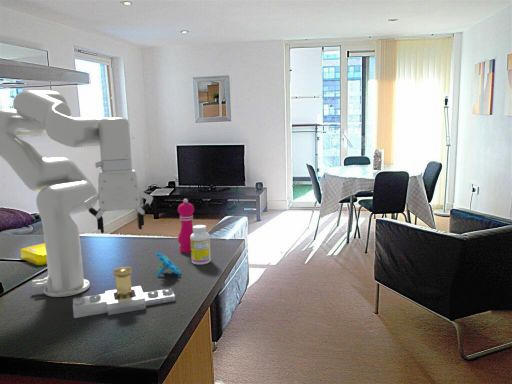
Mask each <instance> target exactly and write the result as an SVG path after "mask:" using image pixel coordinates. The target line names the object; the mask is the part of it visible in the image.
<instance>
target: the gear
mask: <svg viewBox="0 0 512 384" xmlns="http://www.w3.org/2000/svg"><path fill="white" fill-rule="evenodd" d="M155 256H156V257H158V260H159V261H161V264H159V266H158V267H157V270H158V272H157V273H156V275H157V276H158V277H160V276H161V275H162V273H164V272H165V271H166V270H168V269H169V270H170V271H172V272H173V273H174V274H175V275H176V274H177V275H178V276H179V275H181V273H182V272H181V270H180V269H179V268H178V267H177V266H176V265H175V263H173V261H172V260H170V259H169V257H168V256H167V255H164V254H163V253H160V252H159V251H157V252H156V254H155Z"/></svg>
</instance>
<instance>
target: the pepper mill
mask: <svg viewBox="0 0 512 384" xmlns="http://www.w3.org/2000/svg"><path fill="white" fill-rule="evenodd" d="M194 211H195V206H194V205H193V203H190V202H189V200H188V199H187V198H184V199H183V200H182V203H180V204H179V205H178V207H177V213H178V214H179V220H180V223H181V226H180V230H179V233H178V235H177V236H178V237H177V242H178V243H179V244H180V245H179V252H181V253H185V254H186V253H191V240H190V236H191V234H193V233H194V231H193V226H194V225H193V220H194V215H193V213H195V212H194Z"/></svg>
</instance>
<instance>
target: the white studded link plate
mask: <svg viewBox="0 0 512 384" xmlns="http://www.w3.org/2000/svg"><path fill="white" fill-rule="evenodd" d="M104 292H105V293H100V294H93V295H87V296H82V297H81V296H80V297H74V298H72V310H73V311H72V312H73V318H74V319H77V318H83V317H88V316H94V315H100V314H106V313H107V316H113V315H116V314H117V315H119V314H122V313H123V314H124V313H129V312H134V311H141V310H146V308H147V307H148V306H153V305H160V304H161V305H162V304H165V303H171V302H176V294H175V293H174V291H173V289H172V287H171V288H165V289H159V290H158V289H157V290H151V291H146V292H144V291H143V289H142V286H141V285H137V286H132V297H130V298H124V299H118V300H117V293H116V289H111V290H110V289H109V290H106V291H104Z"/></svg>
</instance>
